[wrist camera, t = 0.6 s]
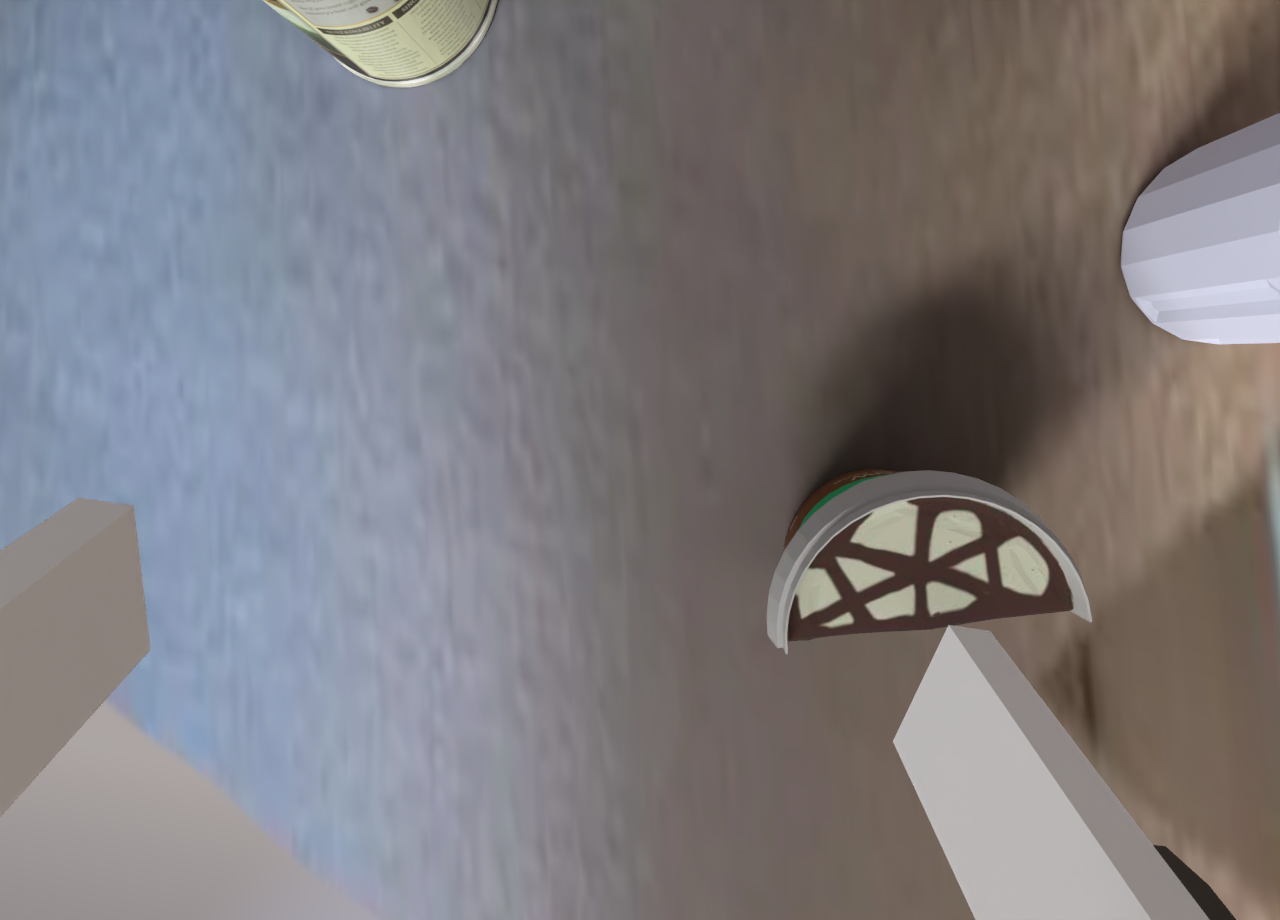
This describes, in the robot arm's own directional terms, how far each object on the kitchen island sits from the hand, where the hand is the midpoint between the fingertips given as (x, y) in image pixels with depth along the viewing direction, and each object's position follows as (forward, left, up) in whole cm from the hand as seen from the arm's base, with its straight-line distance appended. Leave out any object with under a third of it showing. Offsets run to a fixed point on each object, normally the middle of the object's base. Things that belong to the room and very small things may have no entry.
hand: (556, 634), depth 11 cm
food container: (-3, +11, -26) cm, 28 cm away
